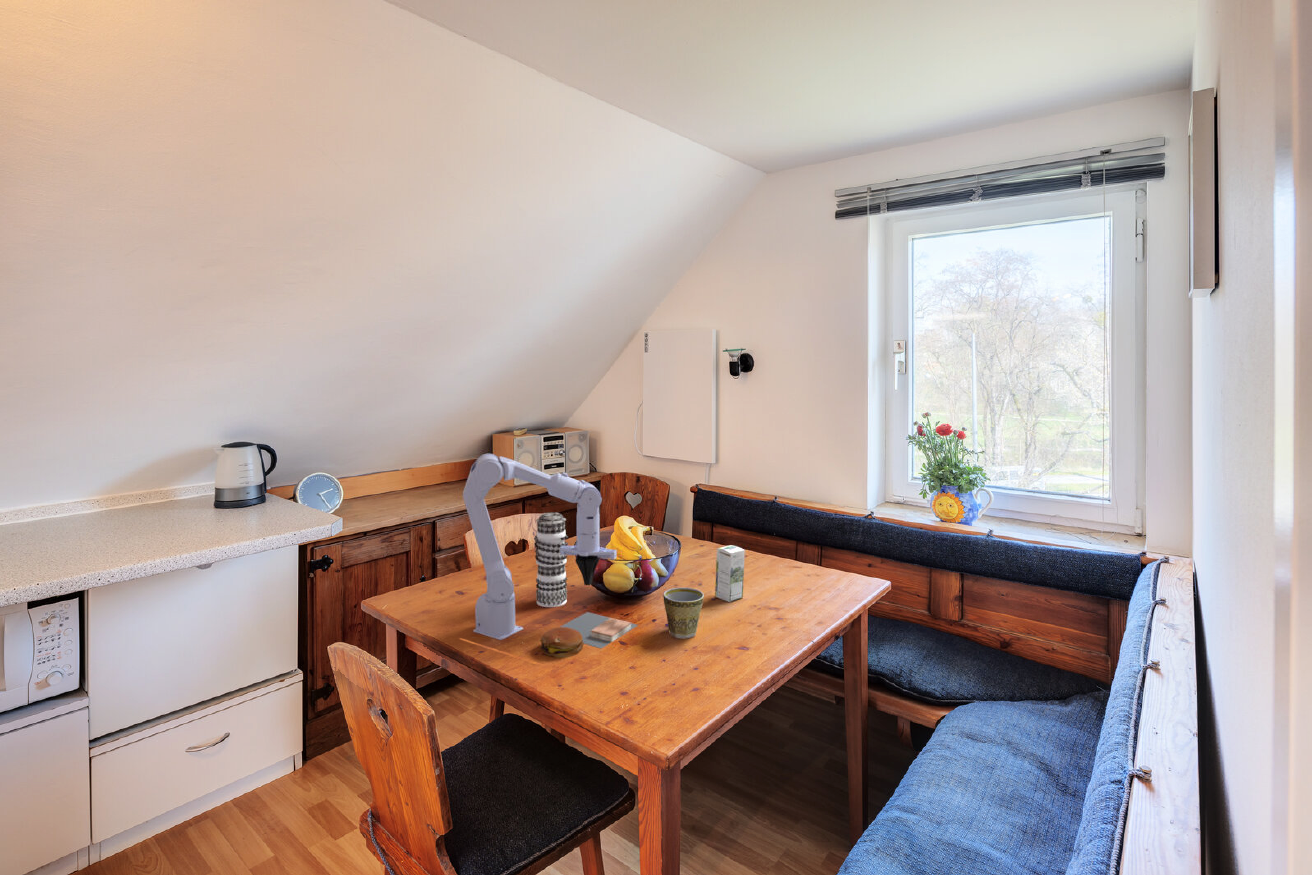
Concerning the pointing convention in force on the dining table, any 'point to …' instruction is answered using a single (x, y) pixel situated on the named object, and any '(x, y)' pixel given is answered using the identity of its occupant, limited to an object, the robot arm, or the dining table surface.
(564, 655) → the burger
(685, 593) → the ceramic cup
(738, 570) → the syrup box
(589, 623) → the mat
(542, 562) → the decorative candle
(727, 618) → the dining table surface
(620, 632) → the tile
